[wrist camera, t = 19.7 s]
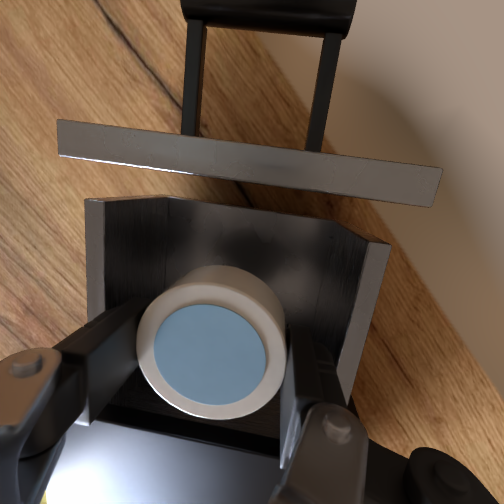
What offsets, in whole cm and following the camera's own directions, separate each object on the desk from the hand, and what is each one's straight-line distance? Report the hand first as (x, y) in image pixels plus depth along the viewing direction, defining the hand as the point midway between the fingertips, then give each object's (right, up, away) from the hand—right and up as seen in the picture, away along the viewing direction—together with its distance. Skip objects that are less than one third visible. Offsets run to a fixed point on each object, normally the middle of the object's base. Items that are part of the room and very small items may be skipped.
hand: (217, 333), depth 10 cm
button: (0, 0, +1) cm, 1 cm away
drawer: (+1, +4, +6) cm, 8 cm away
